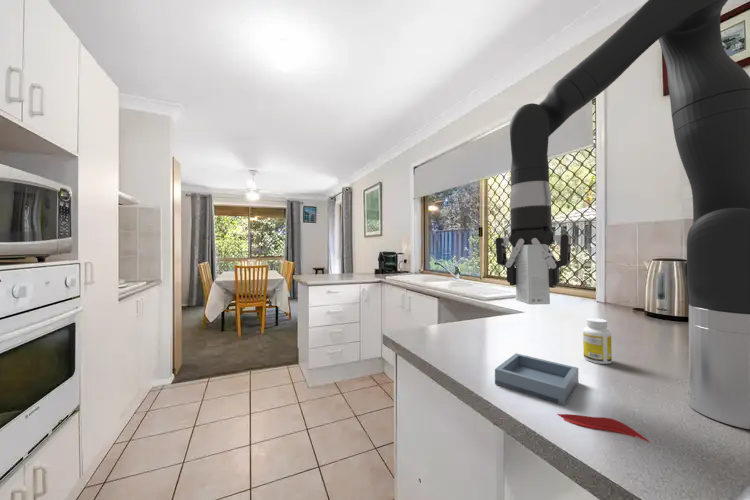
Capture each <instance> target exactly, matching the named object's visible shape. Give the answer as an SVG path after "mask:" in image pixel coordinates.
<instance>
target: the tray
mask: <svg viewBox="0 0 750 500" xmlns="http://www.w3.org/2000/svg"><path fill="white" fill-rule="evenodd" d="M494 384H495V385H496V386H500V387H503V388H507V389H510V390H513V391H515V392H519V393H522V394H525V395H529V396H533V397H535V398H539V399H542V400H545V401H549V402H551V403H555V404H558V405H560V406H564V407H566V405H567V403H568V401H569V400H570V398H571V397H572V395H573V393H574V391H575V390H576V387H577V386H578V384H579V367H576V366H572V365H568V364H564V363H559V362H555V361H550V360H546V359H542V358H539V357H533V356H528V355H524V354H521V353H514V354H513V355H511V356H510V357H509V358H508V359H506V360H505V361H503V362H502V363H501V364H499V365H498V366H497V367H495V368H494Z"/></svg>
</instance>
